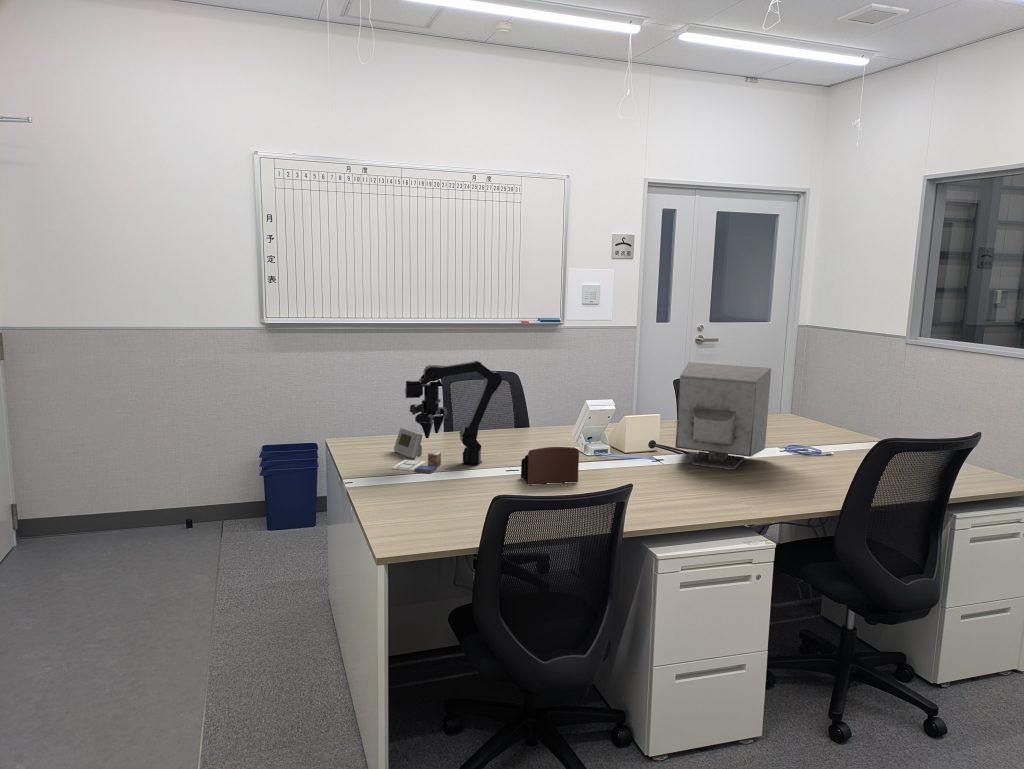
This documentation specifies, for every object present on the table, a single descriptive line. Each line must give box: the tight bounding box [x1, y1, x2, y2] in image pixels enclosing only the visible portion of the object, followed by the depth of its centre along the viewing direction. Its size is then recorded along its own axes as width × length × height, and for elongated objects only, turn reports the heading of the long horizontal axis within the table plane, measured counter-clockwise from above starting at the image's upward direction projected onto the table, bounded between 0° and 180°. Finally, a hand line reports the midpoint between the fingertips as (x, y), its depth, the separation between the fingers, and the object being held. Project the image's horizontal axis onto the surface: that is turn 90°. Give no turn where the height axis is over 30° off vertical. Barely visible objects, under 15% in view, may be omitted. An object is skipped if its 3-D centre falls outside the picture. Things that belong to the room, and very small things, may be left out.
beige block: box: [427, 450, 442, 469], centre depth 295 cm, size 4×4×6 cm
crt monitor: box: [675, 361, 772, 470], centre depth 308 cm, size 35×37×40 cm
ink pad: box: [414, 464, 438, 475], centre depth 288 cm, size 7×6×1 cm
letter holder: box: [520, 446, 580, 485], centre depth 278 cm, size 10×20×14 cm, turn 104°
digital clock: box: [393, 426, 424, 460], centre depth 312 cm, size 16×9×11 cm, turn 28°
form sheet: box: [391, 459, 426, 472], centre depth 295 cm, size 9×13×1 cm
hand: (431, 435), depth 296 cm, fingers open, 9 cm apart
